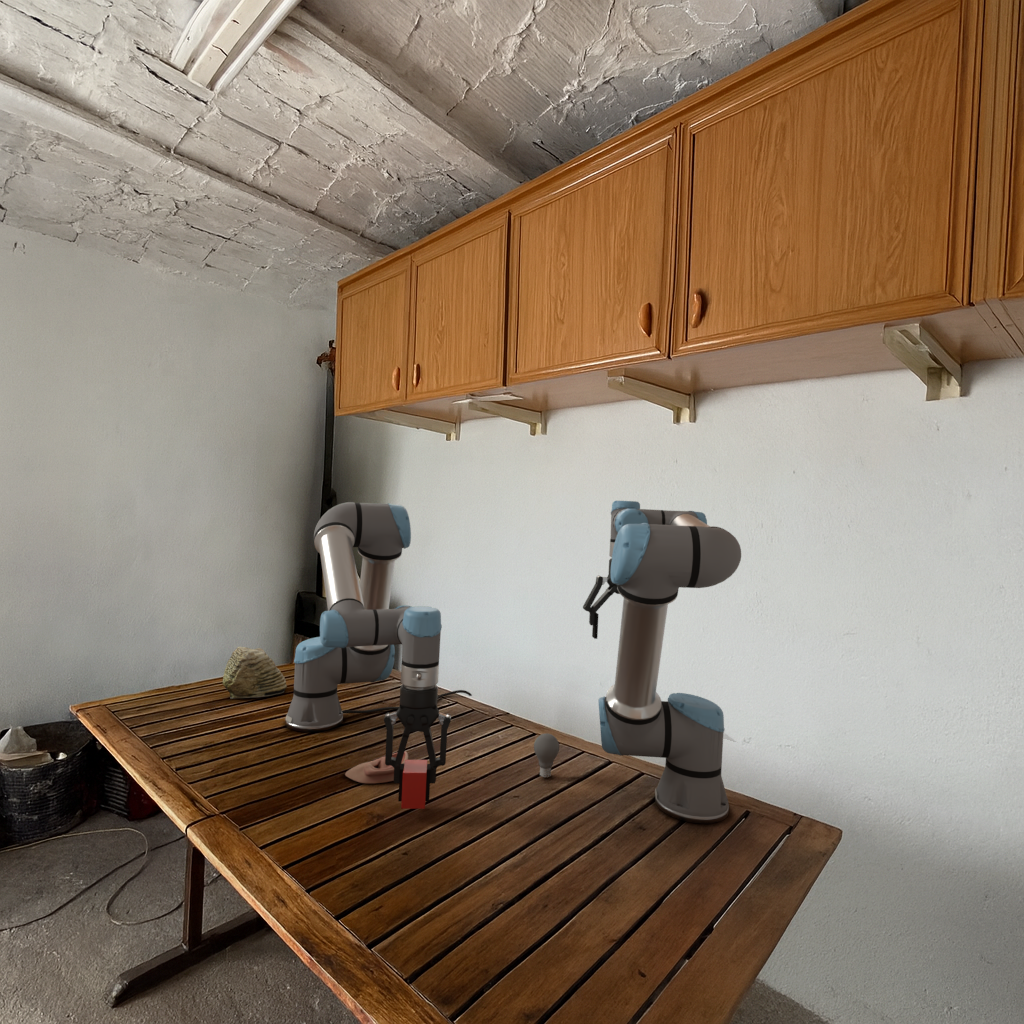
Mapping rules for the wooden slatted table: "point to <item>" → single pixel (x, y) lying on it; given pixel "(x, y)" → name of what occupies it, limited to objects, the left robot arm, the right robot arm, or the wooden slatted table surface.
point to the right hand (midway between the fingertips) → (619, 638)
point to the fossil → (252, 674)
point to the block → (414, 784)
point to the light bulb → (546, 752)
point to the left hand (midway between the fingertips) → (414, 797)
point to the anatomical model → (374, 771)
